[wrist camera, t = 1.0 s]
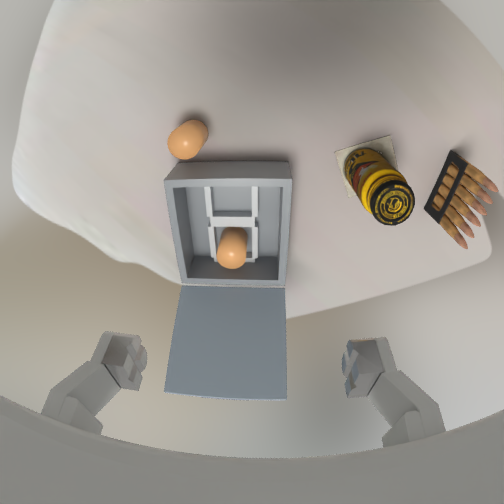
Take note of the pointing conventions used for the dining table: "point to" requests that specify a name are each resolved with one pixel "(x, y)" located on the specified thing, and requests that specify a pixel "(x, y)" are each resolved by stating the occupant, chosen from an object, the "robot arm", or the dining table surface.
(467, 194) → the ammunition clip
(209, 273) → the housing
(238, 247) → the orange short rounded part
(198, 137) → the brown wide rounded part
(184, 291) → the lid
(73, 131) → the dining table surface
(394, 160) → the condiment
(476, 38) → the dining table surface
